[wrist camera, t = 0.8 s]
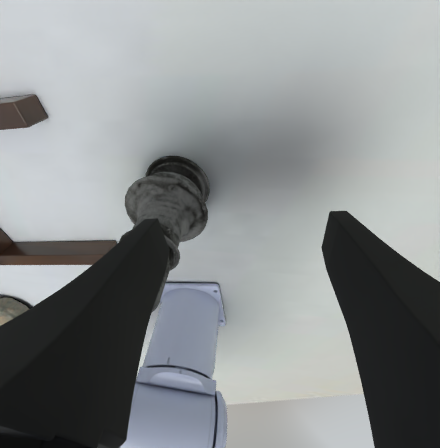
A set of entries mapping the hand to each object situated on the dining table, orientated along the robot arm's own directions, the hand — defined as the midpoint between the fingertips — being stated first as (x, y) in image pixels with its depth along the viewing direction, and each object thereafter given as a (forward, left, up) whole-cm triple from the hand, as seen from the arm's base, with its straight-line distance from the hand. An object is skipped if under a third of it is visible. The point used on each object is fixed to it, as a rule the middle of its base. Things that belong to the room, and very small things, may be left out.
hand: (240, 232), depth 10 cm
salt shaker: (-3, +5, -9) cm, 11 cm away
